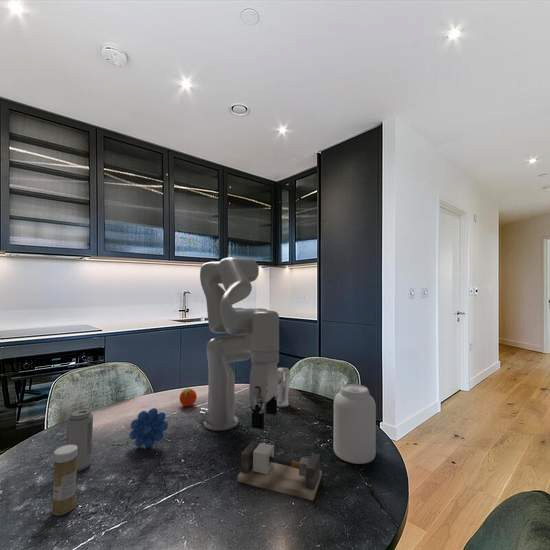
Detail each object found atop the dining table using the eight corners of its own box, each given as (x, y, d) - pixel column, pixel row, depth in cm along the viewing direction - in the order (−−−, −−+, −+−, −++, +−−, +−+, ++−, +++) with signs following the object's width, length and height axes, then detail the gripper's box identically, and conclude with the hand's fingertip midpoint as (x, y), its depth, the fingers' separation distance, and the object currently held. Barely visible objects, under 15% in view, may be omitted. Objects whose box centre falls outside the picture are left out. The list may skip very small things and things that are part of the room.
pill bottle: (48, 510, 70) (50, 449, 70) (72, 499, 74) (73, 441, 74) (55, 520, 67) (57, 456, 68) (78, 508, 71) (80, 448, 71)
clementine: (193, 410, 126) (193, 392, 126) (176, 410, 126) (176, 392, 126) (198, 402, 134) (198, 386, 134) (182, 402, 134) (182, 385, 134)
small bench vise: (237, 481, 81) (238, 456, 81) (253, 461, 90) (253, 438, 91) (313, 500, 74) (313, 472, 74) (321, 476, 83) (321, 451, 84)
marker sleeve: (252, 470, 82) (253, 451, 82) (260, 460, 87) (260, 442, 87) (267, 474, 81) (267, 454, 81) (273, 463, 86) (273, 445, 86)
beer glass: (288, 408, 129) (288, 372, 129) (271, 407, 130) (272, 370, 131) (290, 402, 135) (291, 367, 136) (275, 401, 137) (275, 366, 137)
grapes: (171, 440, 102) (171, 402, 102) (165, 451, 95) (165, 411, 96) (134, 440, 101) (135, 403, 102) (126, 451, 95) (127, 411, 95)
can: (369, 470, 87) (369, 397, 87) (327, 456, 93) (327, 389, 94) (380, 450, 97) (380, 385, 98) (341, 439, 104) (342, 378, 104)
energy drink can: (68, 463, 88) (70, 409, 89) (93, 458, 91) (94, 406, 91) (63, 475, 83) (65, 418, 83) (90, 470, 85) (91, 414, 86)
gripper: (264, 349, 94) (264, 407, 93) (238, 362, 78) (237, 432, 77) (287, 351, 91) (288, 410, 91) (266, 364, 75) (266, 437, 74)
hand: (265, 420), depth 84 cm, fingers open, 9 cm apart
